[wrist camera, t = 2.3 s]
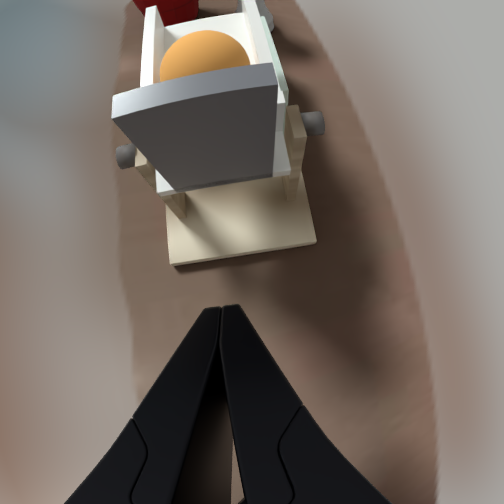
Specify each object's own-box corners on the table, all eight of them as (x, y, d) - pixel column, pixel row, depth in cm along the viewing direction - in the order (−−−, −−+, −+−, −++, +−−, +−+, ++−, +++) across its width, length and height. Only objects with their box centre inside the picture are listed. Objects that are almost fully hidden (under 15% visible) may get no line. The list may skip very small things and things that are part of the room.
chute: (289, 174, 14) (308, 81, 7) (160, 196, 14) (85, 127, 7) (252, 17, 15) (247, -72, 8) (157, 35, 15) (123, -47, 9)
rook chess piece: (283, 30, 27) (283, -30, 19) (248, 45, 26) (243, -18, 19) (256, 14, 28) (253, -42, 20) (223, 28, 27) (214, -30, 20)
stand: (316, 243, 22) (345, 192, 13) (172, 266, 22) (114, 230, 13) (295, 149, 23) (305, 67, 15) (165, 171, 24) (120, 101, 15)
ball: (218, 142, 14) (205, 108, 10) (156, 103, 14) (128, 65, 10) (268, 83, 14) (270, 37, 10) (205, 49, 14) (193, 2, 10)
